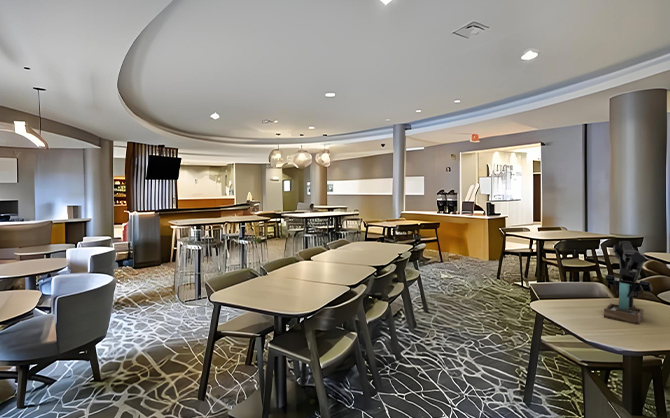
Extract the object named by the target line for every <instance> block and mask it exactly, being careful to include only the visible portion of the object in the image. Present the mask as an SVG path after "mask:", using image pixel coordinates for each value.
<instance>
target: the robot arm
mask: <svg viewBox="0 0 670 418" xmlns="http://www.w3.org/2000/svg"><path fill="white" fill-rule="evenodd" d="M612 252H613V254H614V257H615V258H616V259H618V264H619V273H618V274H619V276H620V278H619V277H616V275H611V274H607V275H605V277H604V279H605V281H606V283H607V285H608V286H609V285H610V286H615V287H616V295H617V296H618V297H619V283H628V284H630V286H629V293H628V298H629V307H632V308H636V307H635V305H634V298H635V299H637V298H639V292H640V293H641V292H643V291H644V292H646V293H647V292H648V293H652V292H653V288H654V287H653V285H652V282H650V281H648V280H639V277H640V273H641V271H642V268H643V267H644V264H645V262H646V257H645V256H644V255H643V254H641V252H639V251H638V250H635V248H634V247H633V245H632V242H631V241H627V240H622V241H619V242H618V243H615V244H614V245H613V247H612ZM638 280H639V282H638Z"/></svg>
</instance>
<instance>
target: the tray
mask: <svg viewBox="0 0 670 418" xmlns="http://www.w3.org/2000/svg"><path fill="white" fill-rule="evenodd" d="M603 318H606V319H610V320H615V321H620V322H625V323H628V324H629V323H630V324H633V325H639V324H640V323H641V322H642V320H643V319H644V309H642V308H637V307H634V308H632V307H629V309H627V310H626V309H621V308H619V304H617V303H612V302H611V303H609V304H608V305H607V306H605V307H604V308H603Z"/></svg>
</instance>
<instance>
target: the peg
mask: <svg viewBox="0 0 670 418" xmlns="http://www.w3.org/2000/svg"><path fill="white" fill-rule="evenodd" d="M629 286H630V284H628V283H619V296H618V305H619V308H621V309H626V310H627V309H629V298H628V293H629Z"/></svg>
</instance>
